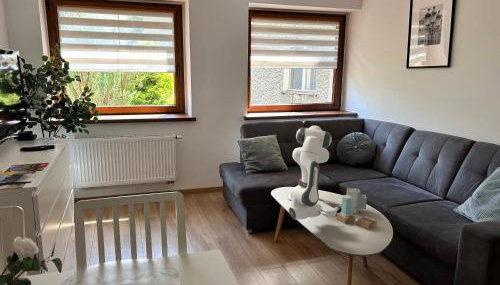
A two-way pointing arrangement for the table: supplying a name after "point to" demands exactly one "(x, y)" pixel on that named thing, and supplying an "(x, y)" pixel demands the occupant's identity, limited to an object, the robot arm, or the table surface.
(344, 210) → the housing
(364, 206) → the circuit breaker
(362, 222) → the stand
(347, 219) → the stand
